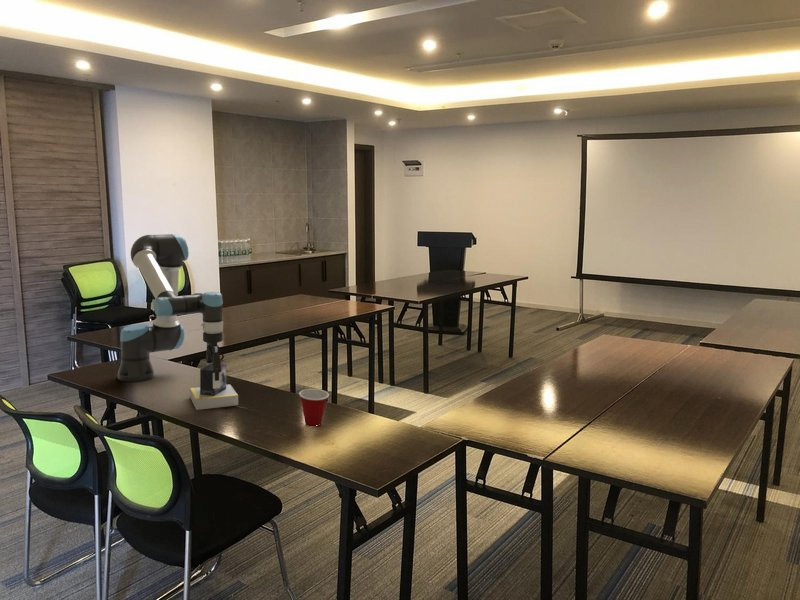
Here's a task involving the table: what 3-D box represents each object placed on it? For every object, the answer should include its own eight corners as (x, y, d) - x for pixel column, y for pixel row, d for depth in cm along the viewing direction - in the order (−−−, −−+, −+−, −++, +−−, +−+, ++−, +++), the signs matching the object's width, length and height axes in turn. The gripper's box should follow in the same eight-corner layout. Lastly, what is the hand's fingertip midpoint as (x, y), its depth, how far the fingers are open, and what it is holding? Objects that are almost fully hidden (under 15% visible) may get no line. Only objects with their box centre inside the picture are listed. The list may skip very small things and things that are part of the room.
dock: (190, 397, 256) (190, 387, 256) (230, 393, 263) (230, 384, 263) (196, 409, 242) (196, 399, 242) (238, 405, 249) (238, 395, 249)
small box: (214, 396, 246) (214, 370, 245) (199, 394, 248) (198, 369, 246) (227, 388, 257) (227, 363, 255) (212, 387, 258) (212, 362, 256)
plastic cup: (316, 431, 224) (316, 399, 222) (292, 425, 229) (292, 393, 227) (334, 423, 233) (335, 391, 231) (311, 417, 238) (312, 386, 237)
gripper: (198, 325, 258) (198, 375, 261) (208, 338, 236) (209, 393, 239) (216, 324, 261) (217, 374, 264) (228, 337, 239) (229, 391, 242)
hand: (213, 383), depth 252 cm, fingers open, 13 cm apart
